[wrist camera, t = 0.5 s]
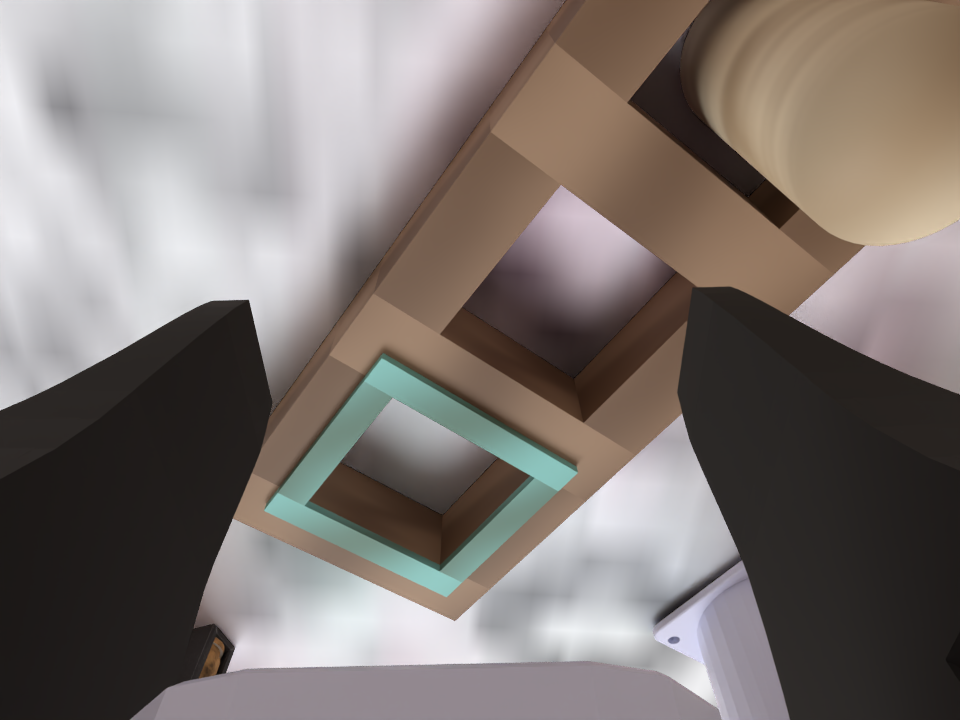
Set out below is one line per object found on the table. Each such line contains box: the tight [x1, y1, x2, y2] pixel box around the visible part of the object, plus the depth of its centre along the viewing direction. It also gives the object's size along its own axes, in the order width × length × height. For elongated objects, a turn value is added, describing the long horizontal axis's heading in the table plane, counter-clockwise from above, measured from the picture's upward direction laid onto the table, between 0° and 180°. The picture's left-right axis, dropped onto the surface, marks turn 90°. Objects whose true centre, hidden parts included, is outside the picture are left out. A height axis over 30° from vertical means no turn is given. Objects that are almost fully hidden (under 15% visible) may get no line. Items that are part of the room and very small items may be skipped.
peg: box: [680, 0, 960, 246], centre depth 15 cm, size 4×4×8 cm
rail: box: [233, 0, 960, 621], centre depth 21 cm, size 10×26×3 cm, turn 144°
